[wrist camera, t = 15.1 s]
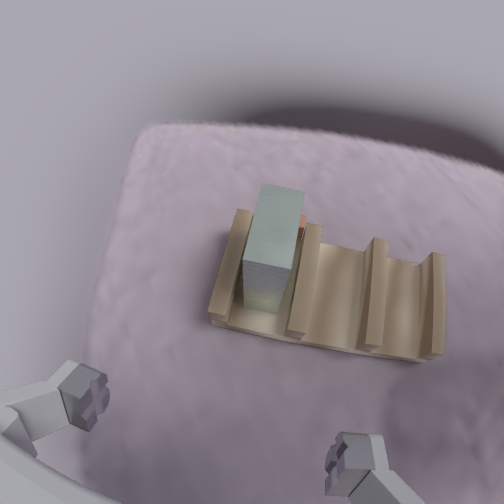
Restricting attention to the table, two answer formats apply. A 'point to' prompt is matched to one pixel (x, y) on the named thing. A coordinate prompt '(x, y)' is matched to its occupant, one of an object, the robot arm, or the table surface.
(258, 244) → the block
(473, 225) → the table surface
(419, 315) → the rack
